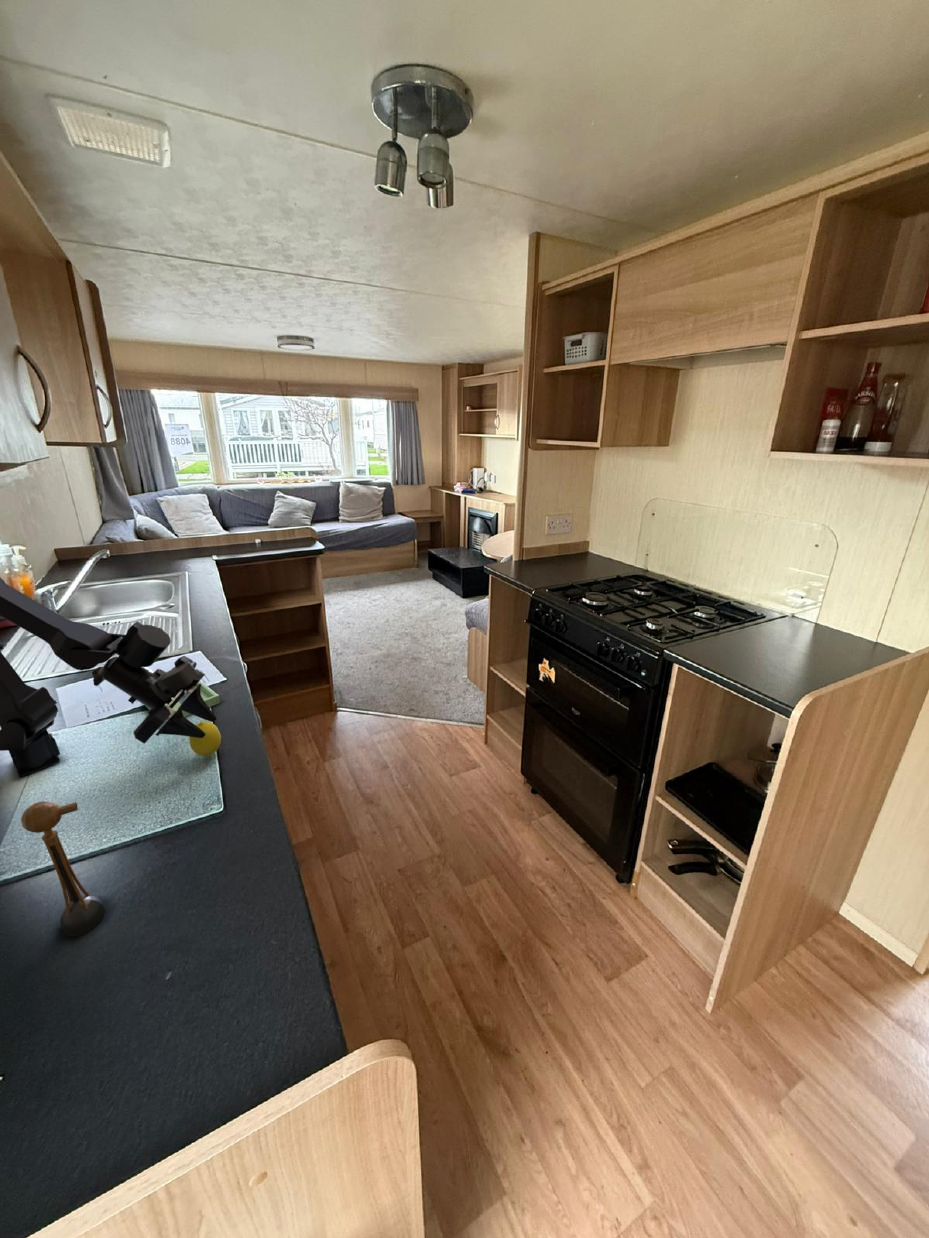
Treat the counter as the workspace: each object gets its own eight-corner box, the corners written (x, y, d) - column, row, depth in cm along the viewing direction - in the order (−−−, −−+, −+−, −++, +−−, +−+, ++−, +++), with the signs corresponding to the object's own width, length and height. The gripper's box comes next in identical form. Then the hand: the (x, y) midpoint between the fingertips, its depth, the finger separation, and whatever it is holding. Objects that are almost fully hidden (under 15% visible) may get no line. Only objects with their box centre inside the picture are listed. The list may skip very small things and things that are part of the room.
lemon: (229, 748, 104) (222, 715, 101) (214, 765, 99) (206, 731, 96) (204, 746, 104) (196, 713, 101) (188, 763, 99) (179, 729, 96)
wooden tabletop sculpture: (114, 894, 72) (73, 783, 65) (114, 919, 68) (70, 804, 61) (64, 914, 69) (14, 800, 62) (60, 942, 66) (7, 824, 58)
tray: (163, 725, 112) (161, 717, 111) (144, 705, 120) (142, 697, 119) (220, 702, 120) (218, 695, 120) (199, 685, 128) (197, 678, 127)
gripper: (135, 677, 84) (215, 729, 89) (185, 632, 101) (250, 678, 106) (99, 719, 86) (179, 768, 91) (154, 668, 104) (218, 712, 109)
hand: (209, 728), depth 99 cm, fingers open, 5 cm apart
